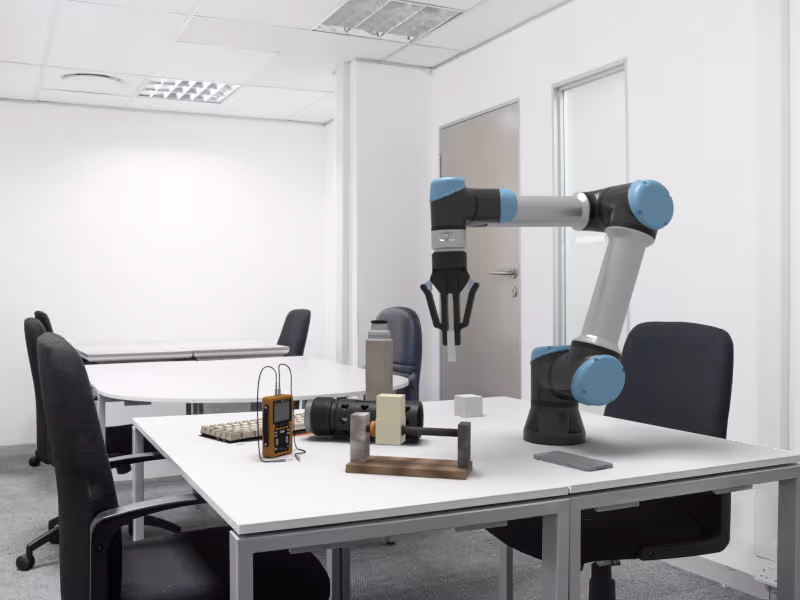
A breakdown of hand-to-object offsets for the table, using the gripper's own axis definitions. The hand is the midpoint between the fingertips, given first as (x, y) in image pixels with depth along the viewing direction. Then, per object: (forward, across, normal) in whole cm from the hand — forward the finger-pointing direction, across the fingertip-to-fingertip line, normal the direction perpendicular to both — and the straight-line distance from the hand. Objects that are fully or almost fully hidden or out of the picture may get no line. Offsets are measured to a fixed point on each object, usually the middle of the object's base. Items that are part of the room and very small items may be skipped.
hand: (452, 360), depth 168 cm
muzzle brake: (+21, -25, +18) cm, 37 cm away
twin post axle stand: (+21, -8, -12) cm, 25 cm away
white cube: (+23, -4, +62) cm, 66 cm away
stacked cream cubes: (+15, -11, -12) cm, 22 cm away
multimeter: (+20, -35, -5) cm, 41 cm away
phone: (+23, +24, +3) cm, 34 cm away
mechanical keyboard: (+21, -49, +25) cm, 59 cm away
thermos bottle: (+22, -30, +55) cm, 66 cm away
